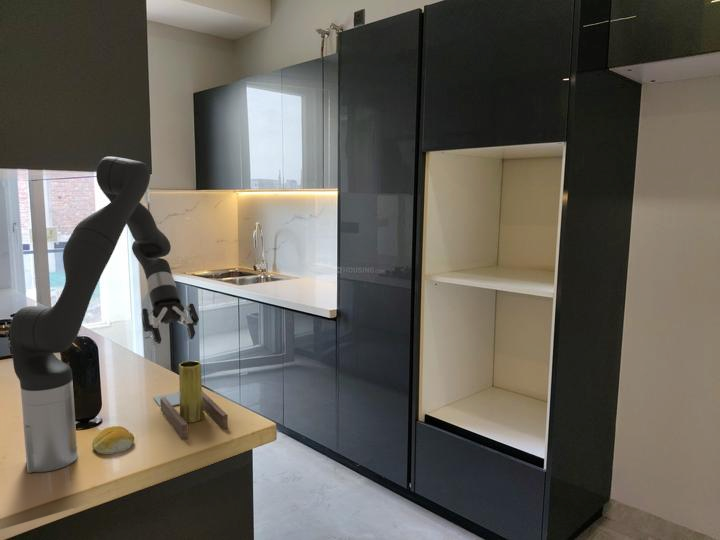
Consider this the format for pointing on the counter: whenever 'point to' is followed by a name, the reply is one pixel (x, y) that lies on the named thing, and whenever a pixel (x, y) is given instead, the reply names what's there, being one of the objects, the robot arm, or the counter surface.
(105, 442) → the bread roll
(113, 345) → the counter surface
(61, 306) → the robot arm
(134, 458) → the counter surface
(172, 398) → the pad
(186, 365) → the vase
